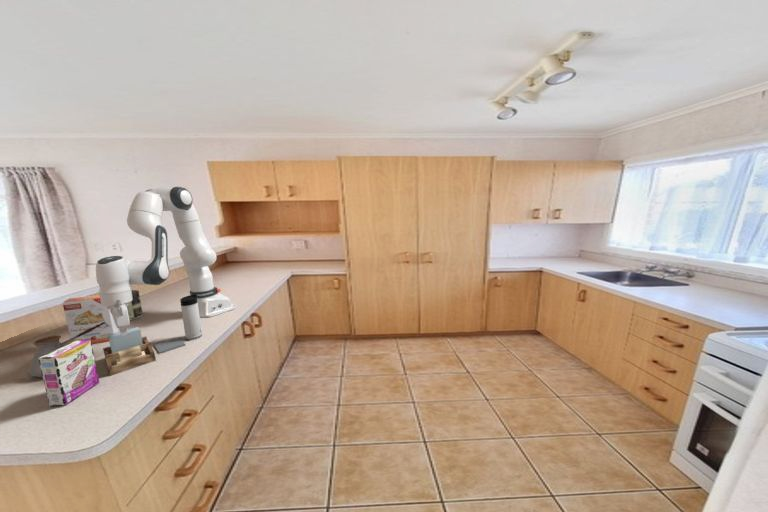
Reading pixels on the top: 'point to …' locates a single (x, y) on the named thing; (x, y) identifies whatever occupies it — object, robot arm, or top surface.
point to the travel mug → (191, 317)
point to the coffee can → (135, 306)
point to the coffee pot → (50, 349)
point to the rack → (127, 365)
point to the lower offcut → (131, 358)
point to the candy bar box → (69, 372)
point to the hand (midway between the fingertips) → (122, 331)
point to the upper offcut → (129, 353)
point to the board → (125, 340)
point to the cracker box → (88, 319)
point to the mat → (169, 345)
